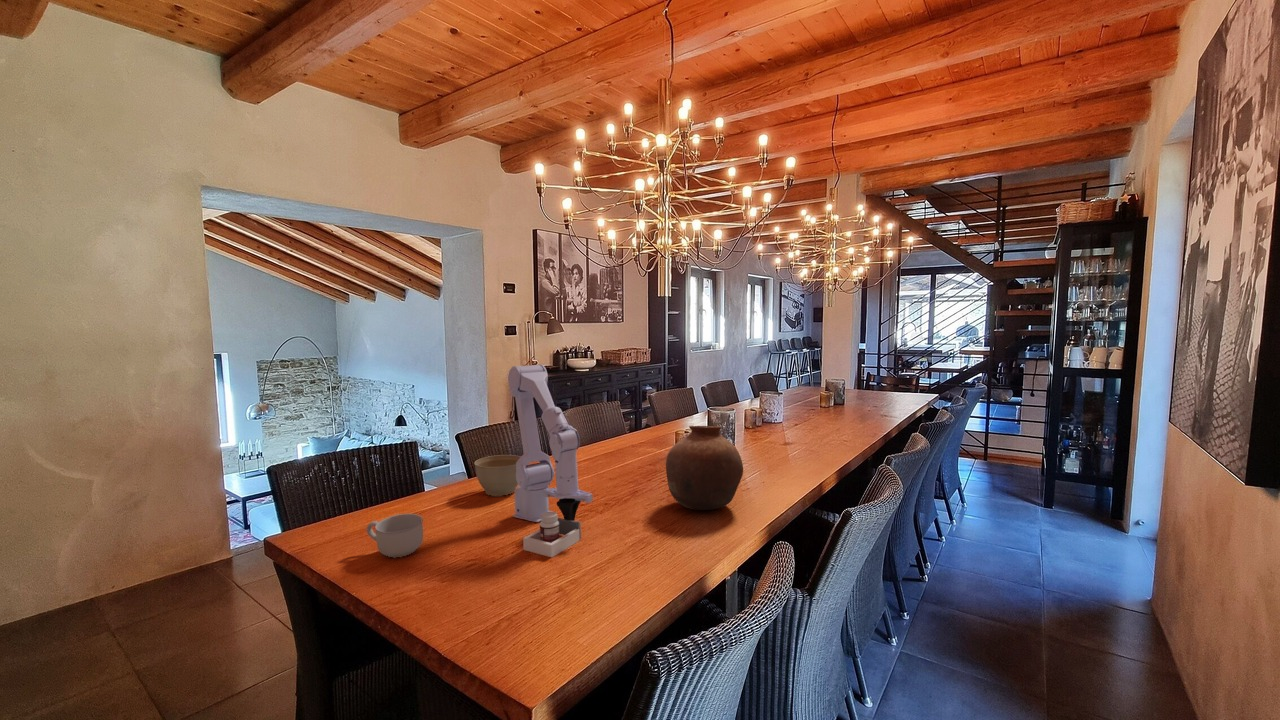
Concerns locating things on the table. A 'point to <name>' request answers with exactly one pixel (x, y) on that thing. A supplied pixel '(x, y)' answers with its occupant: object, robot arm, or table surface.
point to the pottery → (704, 469)
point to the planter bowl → (497, 474)
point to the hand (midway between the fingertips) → (569, 525)
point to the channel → (546, 548)
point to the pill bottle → (549, 527)
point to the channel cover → (568, 526)
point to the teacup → (397, 534)
